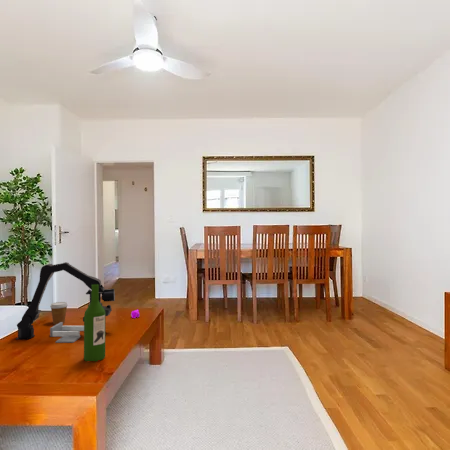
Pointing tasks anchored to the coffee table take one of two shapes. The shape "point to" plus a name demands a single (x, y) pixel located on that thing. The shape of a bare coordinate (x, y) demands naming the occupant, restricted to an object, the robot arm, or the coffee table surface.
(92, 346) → the wine bottle
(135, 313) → the crystal
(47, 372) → the coffee table surface
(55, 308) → the disposable coffee cup
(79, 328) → the channel
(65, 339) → the coaster
